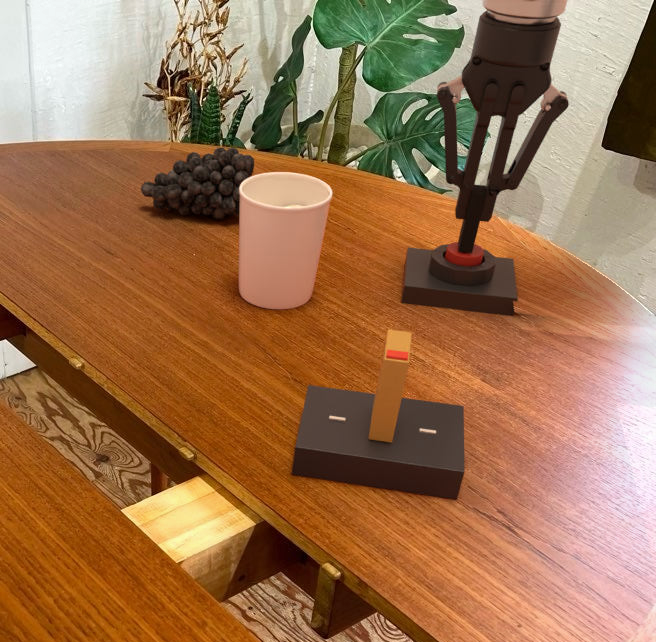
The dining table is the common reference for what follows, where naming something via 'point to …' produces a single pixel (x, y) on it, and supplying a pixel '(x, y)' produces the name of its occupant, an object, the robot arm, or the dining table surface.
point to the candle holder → (281, 237)
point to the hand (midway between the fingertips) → (465, 246)
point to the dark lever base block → (381, 444)
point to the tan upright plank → (390, 385)
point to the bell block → (459, 282)
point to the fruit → (191, 192)
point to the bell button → (464, 255)
